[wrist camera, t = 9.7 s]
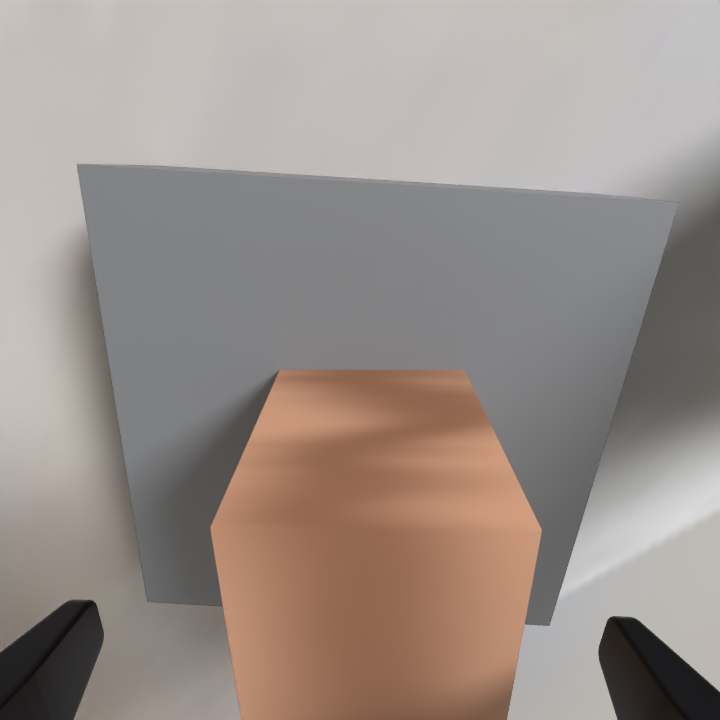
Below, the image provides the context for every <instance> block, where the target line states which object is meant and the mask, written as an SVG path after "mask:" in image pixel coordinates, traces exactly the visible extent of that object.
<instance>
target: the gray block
mask: <svg viewBox="0 0 720 720" xmlns="http://www.w3.org/2000/svg"><path fill="white" fill-rule="evenodd" d="M77 169H78V175H79V181H80V187H81V194H82V200H83V206H84V212H85V218H86V225H87V231H88V237H89V243H90V250H91V256H92V262H93V268H94V274H95V281H96V287H97V293H98V299H99V306H100V312H101V318H102V324H103V330H104V337H105V343H106V349H107V355H108V361H109V368H110V374H111V380H112V386H113V393H114V399H115V405H116V411H117V417H118V424H119V430H120V436H121V442H122V449H123V455H124V461H125V467H126V473H127V480H128V486H129V492H130V498H131V505H132V511H133V517H134V523H135V529H136V536H137V542H138V548H139V554H140V561H141V567H142V573H143V579H144V585H145V592H146V598H147V602H158V603H174V604H191V605H208V606H223V603H222V597H221V591H220V585H219V579H218V572H217V566H216V560H215V554H214V548H213V542H212V536H211V529H210V527H211V525H212V523H213V520H214V518H215V516H216V513H217V511H218V509H219V507H220V504H221V502H222V500H223V498H224V495H225V493H226V491H227V488H228V486H229V484H230V482H231V479H232V477H233V475H234V473H235V470H236V468H237V466H238V464H239V461H240V459H241V457H242V454H243V452H244V450H245V448H246V445H247V443H248V441H249V439H250V436H251V434H252V432H253V429H254V427H255V425H256V423H257V420H258V418H259V416H260V414H261V411H262V409H263V407H264V405H265V402H266V400H267V398H268V395H269V393H270V391H271V389H272V386H273V384H274V382H275V380H276V377H277V375H278V373H279V370H465V372H466V374H467V376H468V378H469V380H470V382H471V385H472V387H473V389H474V391H475V393H476V395H477V397H478V399H479V401H480V403H481V405H482V407H483V409H484V411H485V414H486V416H487V418H488V420H489V422H490V424H491V426H492V428H493V430H494V432H495V434H496V436H497V438H498V440H499V442H500V445H501V447H502V449H503V451H504V453H505V455H506V457H507V459H508V461H509V463H510V465H511V467H512V469H513V471H514V473H515V476H516V478H517V480H518V482H519V484H520V486H521V488H522V490H523V492H524V494H525V496H526V498H527V500H528V502H529V505H530V507H531V509H532V511H533V513H534V515H535V517H536V519H537V521H538V523H539V525H540V527H541V529H542V533H541V538H540V544H539V549H538V554H537V560H536V565H535V570H534V576H533V581H532V587H531V592H530V597H529V603H528V608H527V614H526V619H525V624H527V625H528V624H529V625H545V626H549V625H550V622H551V619H552V616H553V612H554V609H555V606H556V602H557V599H558V596H559V593H560V589H561V586H562V583H563V580H564V576H565V573H566V570H567V566H568V563H569V560H570V557H571V553H572V550H573V547H574V544H575V540H576V537H577V534H578V531H579V527H580V524H581V521H582V517H583V514H584V511H585V508H586V504H587V501H588V498H589V495H590V491H591V488H592V485H593V482H594V478H595V475H596V472H597V468H598V465H599V462H600V459H601V455H602V452H603V449H604V446H605V442H606V439H607V436H608V433H609V429H610V426H611V423H612V419H613V416H614V413H615V410H616V406H617V403H618V400H619V397H620V393H621V390H622V387H623V383H624V380H625V377H626V374H627V370H628V367H629V364H630V361H631V357H632V354H633V351H634V348H635V344H636V341H637V338H638V334H639V331H640V328H641V325H642V321H643V318H644V315H645V312H646V308H647V305H648V302H649V299H650V295H651V292H652V289H653V285H654V282H655V279H656V276H657V272H658V269H659V266H660V263H661V259H662V256H663V253H664V249H665V246H666V243H667V240H668V236H669V233H670V230H671V227H672V223H673V220H674V217H675V214H676V210H677V207H678V204H679V202H669V201H659V200H650V199H640V198H631V197H621V196H612V195H602V194H592V193H577V192H561V191H546V190H530V189H515V188H499V187H483V186H468V185H452V184H437V183H421V182H405V181H390V180H374V179H359V178H343V177H327V176H312V175H296V174H280V173H265V172H249V171H234V170H218V169H202V168H187V167H171V166H148V165H101V164H77Z"/></svg>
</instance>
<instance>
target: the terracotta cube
mask: <svg viewBox="0 0 720 720" xmlns="http://www.w3.org/2000/svg"><path fill="white" fill-rule="evenodd" d="M210 529H211V536H212V542H213V548H214V554H215V560H216V566H217V572H218V579H219V585H220V591H221V597H222V603H223V609H224V616H225V622H226V628H227V634H228V640H229V646H230V653H231V659H232V665H233V671H234V677H235V683H236V689H237V696H238V702H239V708H240V714H241V720H507V716H508V711H509V705H510V700H511V694H512V689H513V684H514V678H515V673H516V667H517V662H518V657H519V651H520V646H521V640H522V635H523V630H524V624H525V619H526V614H527V608H528V603H529V597H530V592H531V587H532V581H533V576H534V570H535V565H536V560H537V554H538V549H539V544H540V538H541V533H542V529H541V527H540V525H539V523H538V521H537V519H536V517H535V515H534V513H533V511H532V509H531V507H530V505H529V502H528V500H527V498H526V496H525V494H524V492H523V490H522V488H521V486H520V484H519V482H518V480H517V478H516V476H515V473H514V471H513V469H512V467H511V465H510V463H509V461H508V459H507V457H506V455H505V453H504V451H503V449H502V447H501V445H500V442H499V440H498V438H497V436H496V434H495V432H494V430H493V428H492V426H491V424H490V422H489V420H488V418H487V416H486V414H485V411H484V409H483V407H482V405H481V403H480V401H479V399H478V397H477V395H476V393H475V391H474V389H473V387H472V385H471V382H470V380H469V378H468V376H467V374H466V372H465V370H279V373H278V375H277V377H276V380H275V382H274V384H273V386H272V389H271V391H270V393H269V395H268V398H267V400H266V402H265V405H264V407H263V409H262V411H261V414H260V416H259V418H258V420H257V423H256V425H255V427H254V429H253V432H252V434H251V436H250V439H249V441H248V443H247V445H246V448H245V450H244V452H243V454H242V457H241V459H240V461H239V464H238V466H237V468H236V470H235V473H234V475H233V477H232V479H231V482H230V484H229V486H228V488H227V491H226V493H225V495H224V498H223V500H222V502H221V504H220V507H219V509H218V511H217V513H216V516H215V518H214V520H213V523H212V525H211V527H210Z"/></svg>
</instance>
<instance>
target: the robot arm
mask: <svg viewBox="0 0 720 720" xmlns="http://www.w3.org/2000/svg"><path fill="white" fill-rule="evenodd" d="M103 638H104V631H103V627H102V623H101V620H100V616H99V612H98V609H97V605H96V603H95V602H94V601H92V600H70V601H68V602H66V603H64V604H63V605H61V606H60V607H59V608H57V609H56V610H55V611H54V612H52V613H51V614H50V615H48V616H47V617H46V618H44V619H43V620H42V621H40V622H39V623H38V624H37V625H35V626H34V627H33V628H31V629H30V630H29V631H27V632H26V633H25V634H24V635H22V636H21V637H20V638H18V639H17V640H16V641H14V642H13V643H12V644H11V645H9V646H8V647H7V648H5V649H4V650H3V651H1V652H0V720H74V717H75V715H76V712H77V710H78V707H79V704H80V702H81V699H82V697H83V694H84V691H85V689H86V686H87V684H88V681H89V678H90V676H91V673H92V671H93V668H94V665H95V663H96V660H97V658H98V655H99V652H100V650H101V647H102V644H103ZM598 653H599V661H600V664H601V668H602V671H603V674H604V677H605V681H606V684H607V687H608V690H609V694H610V697H611V700H612V703H613V706H614V710H615V713H616V716H617V719H618V720H720V692H719V691H718V690H717V689H716V688H715V687H714V686H713V685H711V684H710V683H709V682H708V681H707V680H706V679H705V678H704V677H702V676H701V675H700V674H699V673H698V672H697V671H696V670H694V669H693V668H692V667H691V666H690V665H689V664H688V663H686V662H685V661H684V660H683V659H682V658H680V656H679V655H677V654H676V653H675V652H674V651H673V650H672V649H671V648H669V647H668V646H667V645H666V644H665V643H664V642H663V641H662V640H660V639H659V638H658V637H657V636H656V635H655V634H654V633H652V632H651V631H650V630H649V629H648V628H647V627H646V626H645V625H643V624H642V623H641V622H640V621H638V620H637V619H635V618H633V617H620V616H619V617H618V616H613V617H610V618H609V619H608V621H607V623H606V626H605V629H604V633H603V636H602V639H601V642H600V645H599V652H598Z"/></svg>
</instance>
